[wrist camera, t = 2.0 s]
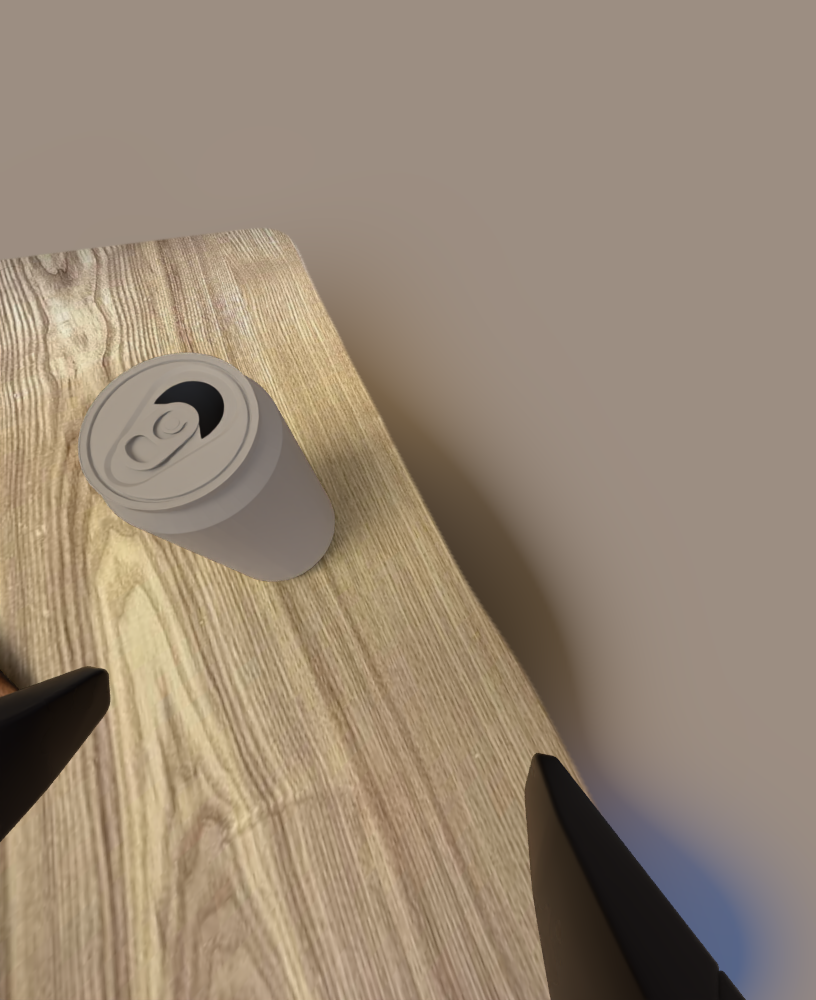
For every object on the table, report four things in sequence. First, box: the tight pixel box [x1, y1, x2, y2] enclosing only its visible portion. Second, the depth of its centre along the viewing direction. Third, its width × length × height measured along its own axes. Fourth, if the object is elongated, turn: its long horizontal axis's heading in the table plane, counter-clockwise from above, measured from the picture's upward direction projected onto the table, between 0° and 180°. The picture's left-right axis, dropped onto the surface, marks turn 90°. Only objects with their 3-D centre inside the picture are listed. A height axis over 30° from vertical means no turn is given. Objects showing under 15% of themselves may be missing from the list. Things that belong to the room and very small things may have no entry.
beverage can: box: [78, 353, 335, 581], centre depth 18 cm, size 6×6×12 cm
